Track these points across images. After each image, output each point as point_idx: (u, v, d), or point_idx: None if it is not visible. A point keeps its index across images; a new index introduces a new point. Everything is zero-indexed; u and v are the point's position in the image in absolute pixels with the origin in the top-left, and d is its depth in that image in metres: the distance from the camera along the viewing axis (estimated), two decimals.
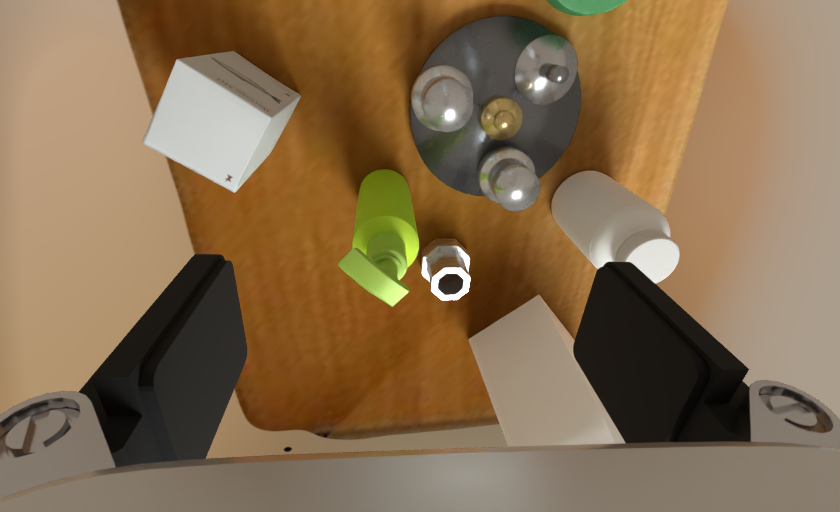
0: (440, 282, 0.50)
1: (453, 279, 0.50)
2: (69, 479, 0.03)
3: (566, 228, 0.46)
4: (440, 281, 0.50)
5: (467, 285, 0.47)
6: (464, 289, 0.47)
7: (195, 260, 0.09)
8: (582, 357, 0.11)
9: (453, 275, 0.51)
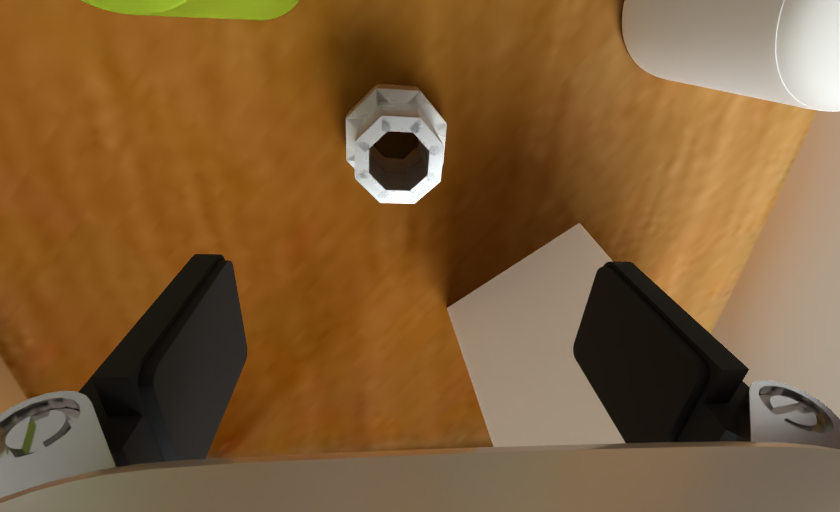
0: (382, 172, 0.23)
1: (411, 168, 0.24)
2: (68, 479, 0.03)
3: (672, 25, 0.19)
4: (383, 171, 0.23)
5: (437, 167, 0.21)
6: (431, 177, 0.21)
7: (195, 260, 0.09)
8: (582, 357, 0.11)
9: (412, 163, 0.24)
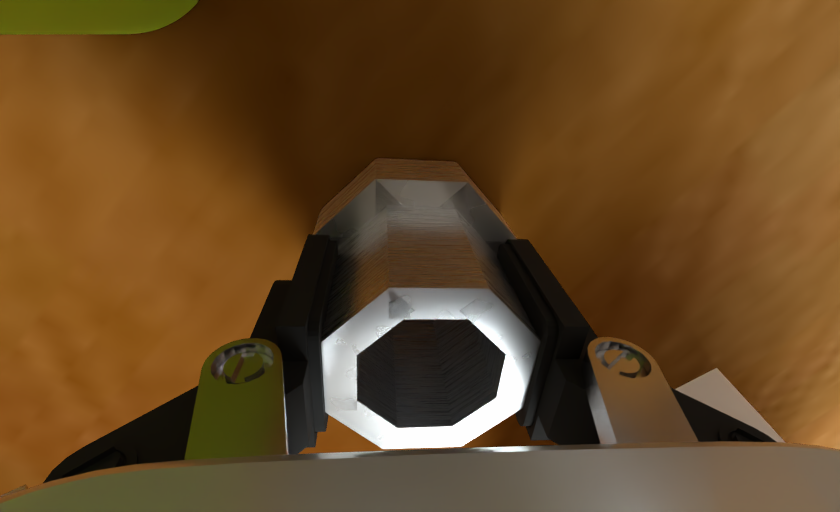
0: (388, 347, 0.11)
1: (446, 332, 0.12)
2: (68, 479, 0.03)
3: None
4: (389, 342, 0.11)
5: (521, 382, 0.09)
6: (503, 401, 0.09)
7: (311, 239, 0.10)
8: None
9: None
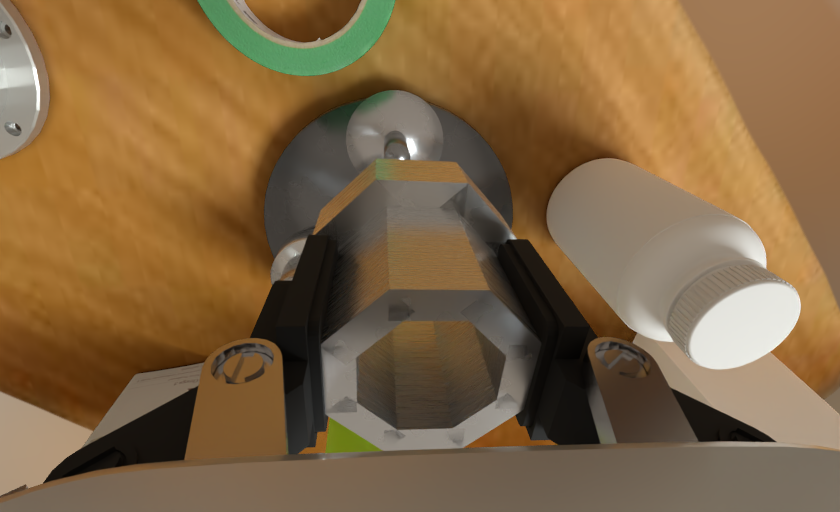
0: (388, 349, 0.11)
1: (447, 333, 0.12)
2: (69, 479, 0.03)
3: None
4: (389, 343, 0.11)
5: (522, 384, 0.09)
6: (504, 403, 0.09)
7: (311, 239, 0.10)
8: None
9: None
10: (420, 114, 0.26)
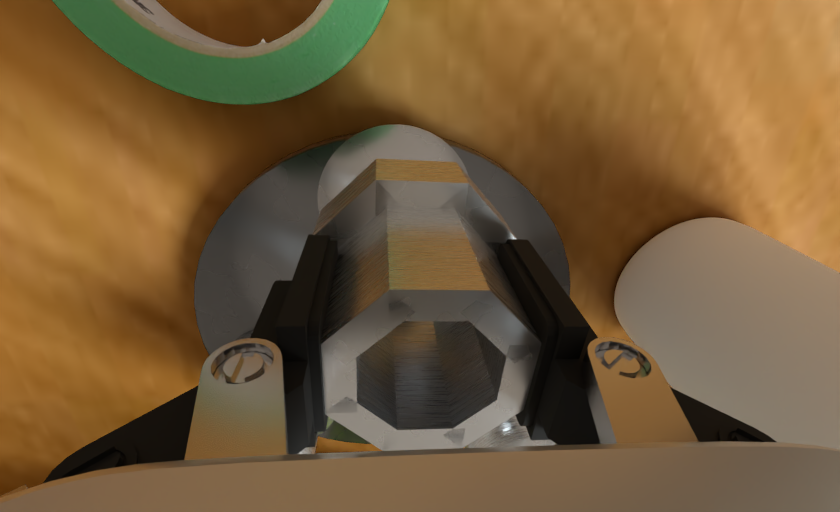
0: (388, 349, 0.11)
1: (447, 334, 0.12)
2: (69, 479, 0.03)
3: None
4: (389, 343, 0.11)
5: (522, 384, 0.09)
6: (504, 403, 0.09)
7: (311, 239, 0.10)
8: None
9: None
10: None
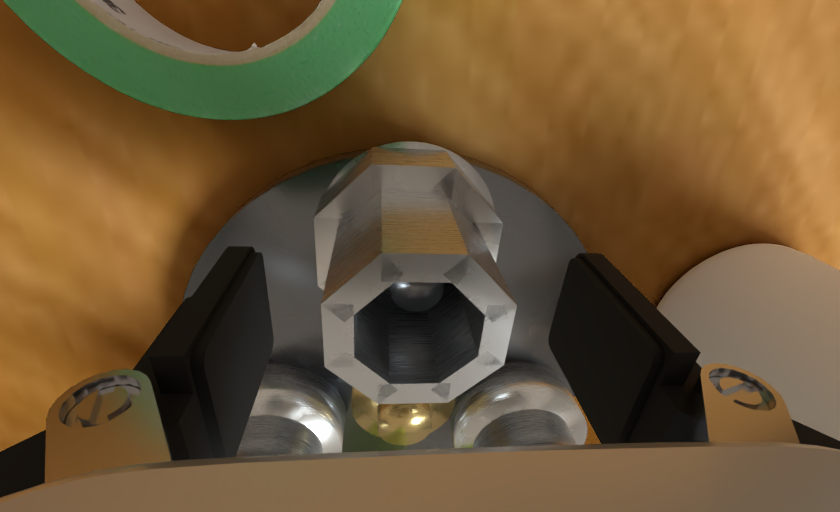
0: (383, 318, 0.12)
1: (436, 306, 0.13)
2: (69, 479, 0.03)
3: None
4: (384, 313, 0.12)
5: (500, 342, 0.10)
6: (484, 359, 0.10)
7: (229, 251, 0.09)
8: (556, 346, 0.11)
9: None
10: None
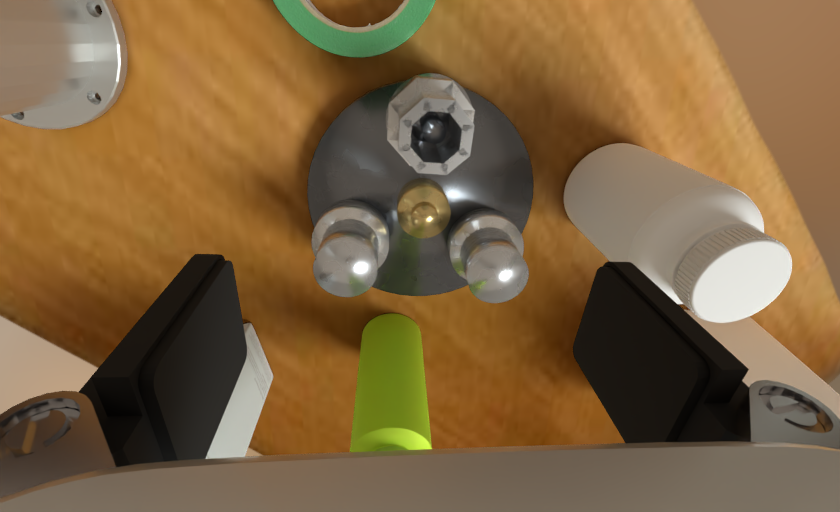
0: (418, 149, 0.27)
1: (443, 148, 0.28)
2: (69, 479, 0.03)
3: None
4: (419, 149, 0.27)
5: (468, 143, 0.25)
6: (462, 152, 0.25)
7: (195, 260, 0.09)
8: (582, 356, 0.11)
9: (443, 144, 0.28)
10: None
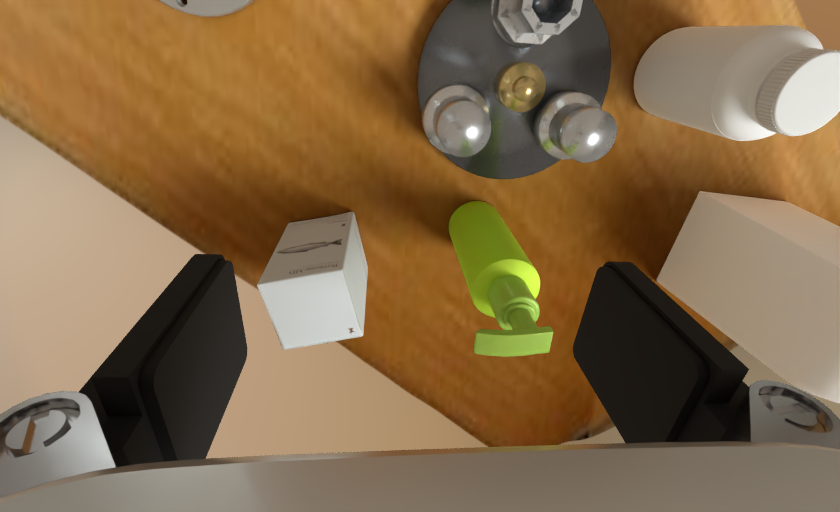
0: None
1: (547, 20, 0.33)
2: (69, 479, 0.03)
3: (674, 120, 0.37)
4: None
5: (579, 4, 0.30)
6: (573, 12, 0.30)
7: (195, 260, 0.09)
8: (582, 357, 0.11)
9: (545, 19, 0.33)
10: None
